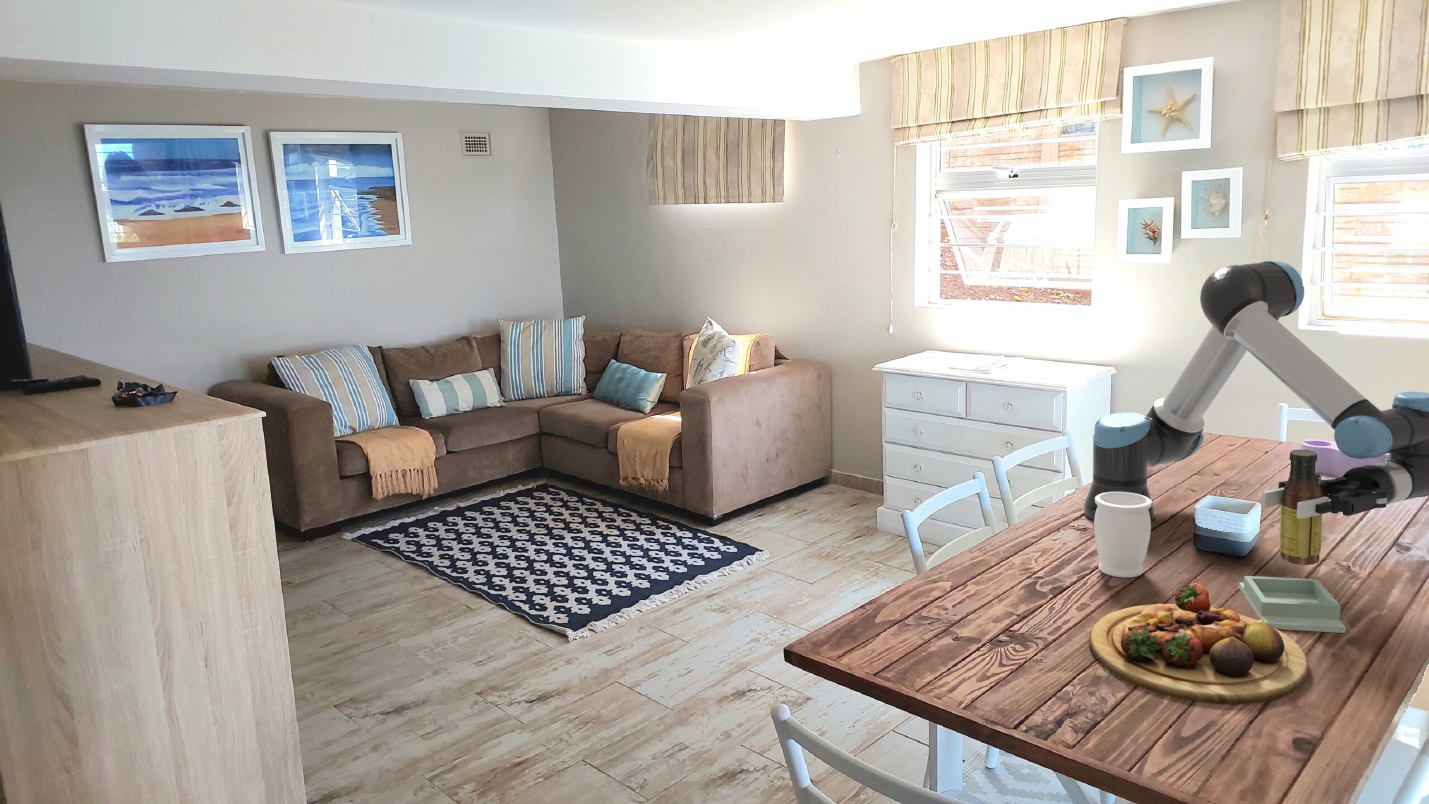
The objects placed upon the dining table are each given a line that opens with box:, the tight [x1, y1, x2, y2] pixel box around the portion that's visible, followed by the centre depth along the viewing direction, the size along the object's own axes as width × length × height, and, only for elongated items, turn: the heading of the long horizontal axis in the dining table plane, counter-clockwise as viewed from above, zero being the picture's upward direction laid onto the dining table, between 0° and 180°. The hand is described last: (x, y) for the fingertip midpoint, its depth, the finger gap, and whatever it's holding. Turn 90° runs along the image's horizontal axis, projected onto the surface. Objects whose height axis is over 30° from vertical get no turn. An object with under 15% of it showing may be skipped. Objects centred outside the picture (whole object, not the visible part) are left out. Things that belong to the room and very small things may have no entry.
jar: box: [1093, 492, 1153, 579], centre depth 191 cm, size 11×10×15 cm
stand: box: [1238, 575, 1347, 634], centre depth 171 cm, size 12×18×4 cm, turn 165°
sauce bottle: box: [1278, 448, 1323, 566], centre depth 168 cm, size 7×6×20 cm
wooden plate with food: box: [1088, 582, 1310, 705], centre depth 156 cm, size 32×32×8 cm
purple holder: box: [1300, 439, 1389, 478], centre depth 246 cm, size 20×12×7 cm, turn 47°
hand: (1280, 505), depth 166 cm, fingers closed on sauce bottle, 6 cm apart
